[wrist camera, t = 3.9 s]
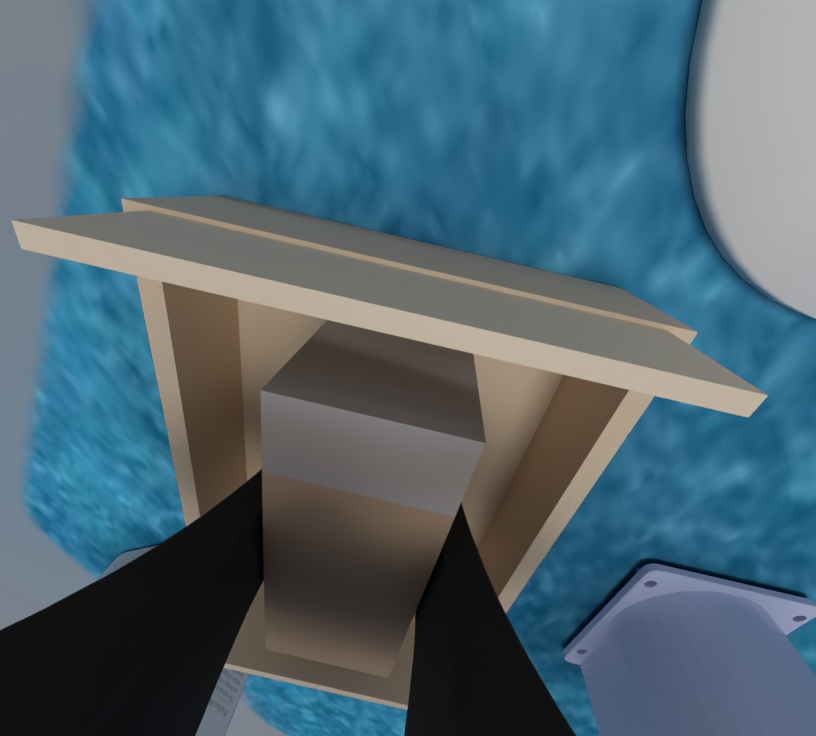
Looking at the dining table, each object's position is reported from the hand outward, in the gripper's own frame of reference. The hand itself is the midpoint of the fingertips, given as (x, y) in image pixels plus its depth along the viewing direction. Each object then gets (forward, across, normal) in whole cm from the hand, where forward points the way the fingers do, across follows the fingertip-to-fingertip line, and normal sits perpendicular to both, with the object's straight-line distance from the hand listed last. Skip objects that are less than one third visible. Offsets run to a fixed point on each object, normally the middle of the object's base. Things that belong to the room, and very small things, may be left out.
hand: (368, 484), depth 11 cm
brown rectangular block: (+1, 0, 0) cm, 1 cm away
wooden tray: (+3, 0, 0) cm, 3 cm away
